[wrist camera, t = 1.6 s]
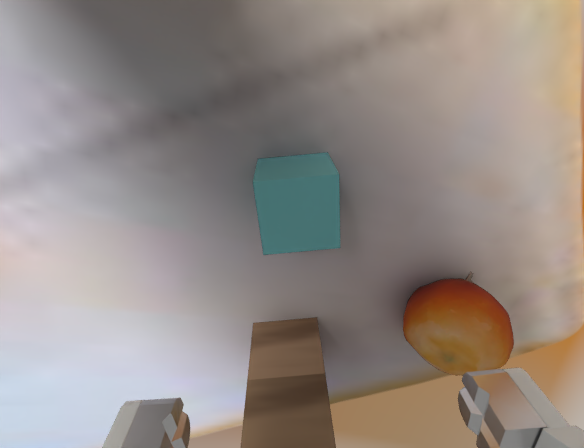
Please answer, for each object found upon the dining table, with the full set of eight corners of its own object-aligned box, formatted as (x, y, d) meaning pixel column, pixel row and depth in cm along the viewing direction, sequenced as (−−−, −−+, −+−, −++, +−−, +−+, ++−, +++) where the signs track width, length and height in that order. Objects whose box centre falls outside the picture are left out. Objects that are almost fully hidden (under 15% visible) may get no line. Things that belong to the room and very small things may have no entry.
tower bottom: (253, 322, 30) (247, 380, 24) (316, 317, 30) (325, 373, 24) (261, 366, 33) (257, 426, 27) (319, 361, 33) (327, 420, 27)
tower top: (247, 380, 24) (238, 468, 19) (325, 373, 24) (337, 460, 19) (257, 426, 27) (252, 515, 22) (327, 420, 27) (339, 508, 22)
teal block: (257, 158, 23) (252, 181, 18) (327, 152, 23) (339, 173, 18) (266, 220, 25) (263, 254, 21) (329, 214, 25) (340, 248, 21)
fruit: (514, 322, 29) (517, 406, 23) (422, 312, 33) (406, 380, 28) (509, 252, 25) (511, 332, 20) (407, 252, 30) (386, 316, 24)
